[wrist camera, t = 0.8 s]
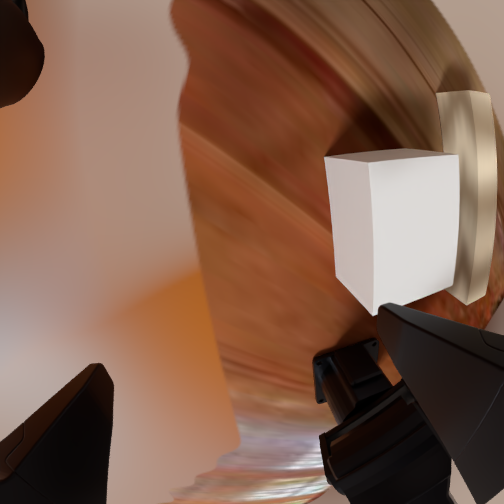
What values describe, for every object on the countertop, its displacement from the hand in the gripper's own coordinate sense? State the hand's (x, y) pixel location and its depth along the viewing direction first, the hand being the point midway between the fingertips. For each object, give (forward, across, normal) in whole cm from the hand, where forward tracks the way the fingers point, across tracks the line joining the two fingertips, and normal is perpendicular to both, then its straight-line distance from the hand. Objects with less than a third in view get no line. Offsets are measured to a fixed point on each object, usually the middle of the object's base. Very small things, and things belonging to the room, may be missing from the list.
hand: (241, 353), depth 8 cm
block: (+12, -11, 0) cm, 17 cm away
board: (+12, -21, 0) cm, 24 cm away
